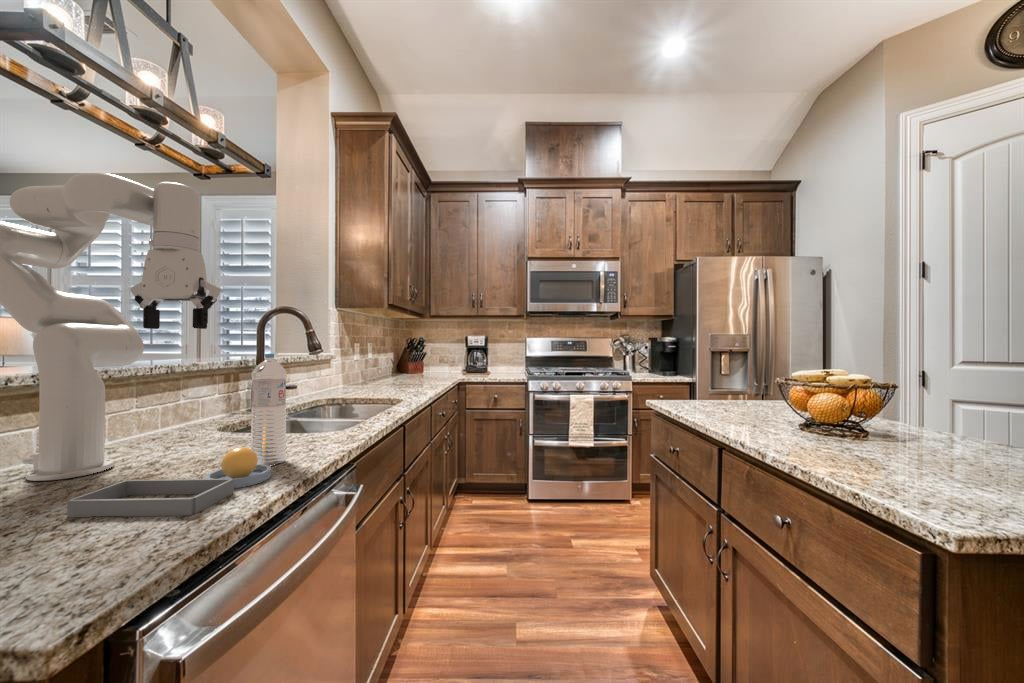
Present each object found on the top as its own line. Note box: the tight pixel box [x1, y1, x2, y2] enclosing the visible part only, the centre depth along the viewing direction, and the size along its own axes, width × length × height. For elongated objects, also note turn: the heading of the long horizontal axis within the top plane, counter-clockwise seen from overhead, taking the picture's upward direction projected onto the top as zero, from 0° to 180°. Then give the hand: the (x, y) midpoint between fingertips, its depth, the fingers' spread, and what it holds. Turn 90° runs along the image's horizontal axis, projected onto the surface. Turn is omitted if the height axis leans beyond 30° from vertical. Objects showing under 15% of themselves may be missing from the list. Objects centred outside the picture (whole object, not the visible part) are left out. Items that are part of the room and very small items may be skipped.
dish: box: [204, 464, 272, 490], centre depth 80 cm, size 11×11×2 cm
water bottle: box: [250, 353, 287, 466], centre depth 92 cm, size 7×7×25 cm
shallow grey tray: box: [66, 478, 234, 518], centre depth 68 cm, size 19×10×2 cm, turn 92°
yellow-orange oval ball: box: [220, 446, 258, 479], centre depth 80 cm, size 6×6×6 cm
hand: (175, 328), depth 83 cm, fingers open, 9 cm apart
